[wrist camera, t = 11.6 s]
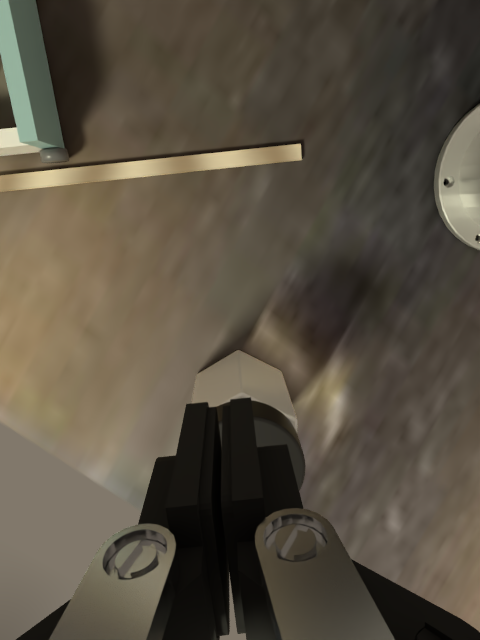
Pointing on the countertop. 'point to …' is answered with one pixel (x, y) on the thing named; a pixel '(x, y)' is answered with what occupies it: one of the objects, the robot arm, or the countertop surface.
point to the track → (150, 167)
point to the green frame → (28, 85)
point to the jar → (254, 401)
